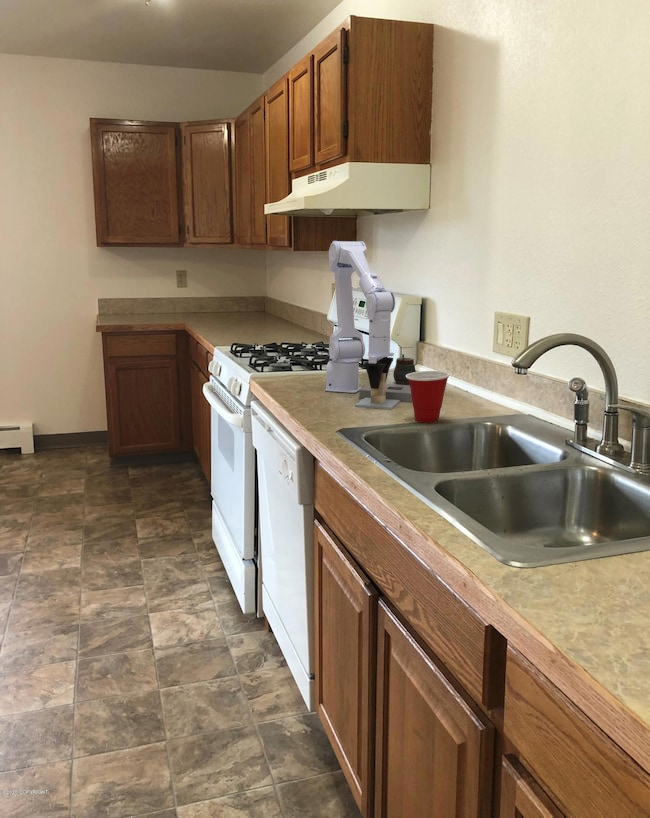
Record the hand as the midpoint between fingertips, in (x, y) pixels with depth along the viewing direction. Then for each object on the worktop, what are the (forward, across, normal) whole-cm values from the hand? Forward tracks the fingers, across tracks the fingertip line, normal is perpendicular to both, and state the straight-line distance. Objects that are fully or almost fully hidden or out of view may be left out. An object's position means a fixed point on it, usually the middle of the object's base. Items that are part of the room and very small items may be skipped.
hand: (378, 385), depth 196 cm
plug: (+5, 0, 0) cm, 5 cm away
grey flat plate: (+5, +12, -2) cm, 13 cm away
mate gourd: (+6, +34, 0) cm, 34 cm away
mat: (+5, 0, 0) cm, 5 cm away
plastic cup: (+5, -14, -16) cm, 22 cm away
